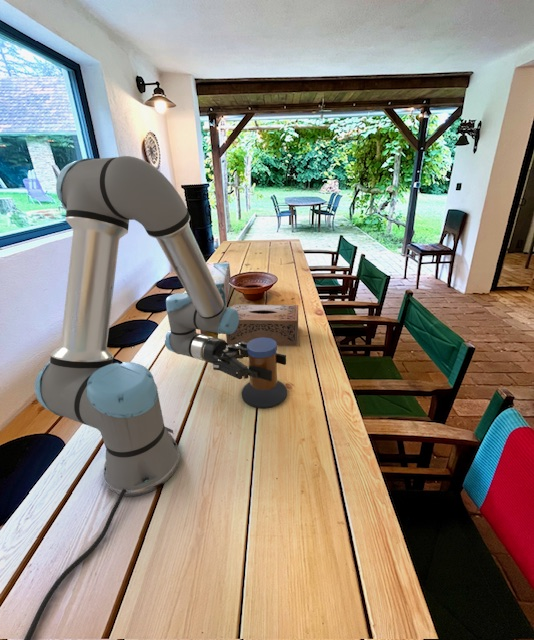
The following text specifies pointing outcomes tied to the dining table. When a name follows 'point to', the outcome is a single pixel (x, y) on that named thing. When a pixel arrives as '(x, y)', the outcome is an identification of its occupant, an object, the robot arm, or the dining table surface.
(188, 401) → the dining table surface
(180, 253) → the robot arm
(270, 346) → the lid
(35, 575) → the dining table surface
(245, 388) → the coaster
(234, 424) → the dining table surface
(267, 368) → the jar
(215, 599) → the dining table surface
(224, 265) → the soda box
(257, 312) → the tissue box cover
